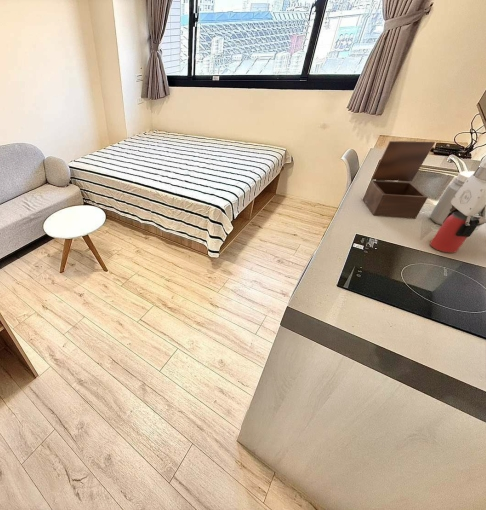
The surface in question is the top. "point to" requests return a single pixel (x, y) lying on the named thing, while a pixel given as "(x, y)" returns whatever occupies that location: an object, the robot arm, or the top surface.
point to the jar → (449, 198)
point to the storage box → (394, 199)
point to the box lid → (402, 160)
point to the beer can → (450, 233)
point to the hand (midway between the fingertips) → (455, 229)
